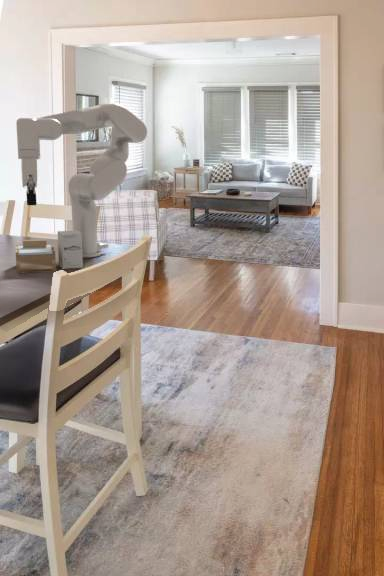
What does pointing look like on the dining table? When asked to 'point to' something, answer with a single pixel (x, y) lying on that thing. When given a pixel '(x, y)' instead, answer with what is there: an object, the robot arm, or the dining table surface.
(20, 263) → the box
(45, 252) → the lid
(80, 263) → the supplement box
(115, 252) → the dining table surface
